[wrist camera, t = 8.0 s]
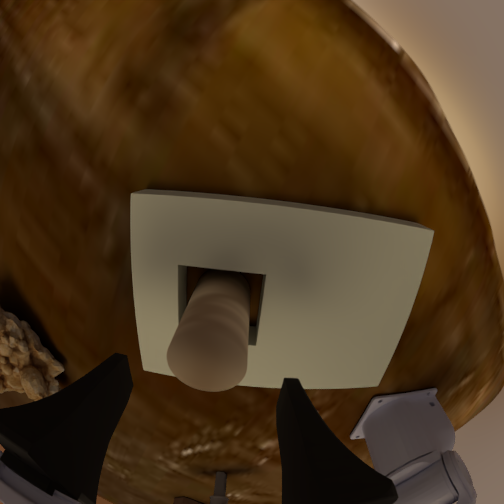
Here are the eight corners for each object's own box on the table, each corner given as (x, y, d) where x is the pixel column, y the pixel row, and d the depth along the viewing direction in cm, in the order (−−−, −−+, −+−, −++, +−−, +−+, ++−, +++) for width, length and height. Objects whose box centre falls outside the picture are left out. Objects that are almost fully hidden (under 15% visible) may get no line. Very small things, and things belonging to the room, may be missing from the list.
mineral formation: (14, 365, 25) (-26, 273, 19) (84, 379, 27) (45, 274, 21) (-7, 403, 18) (-62, 305, 12) (68, 428, 20) (5, 319, 14)
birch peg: (252, 269, 19) (249, 336, 12) (248, 317, 21) (244, 394, 13) (196, 265, 19) (162, 326, 12) (196, 313, 21) (170, 385, 13)
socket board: (416, 222, 18) (434, 230, 16) (369, 368, 22) (377, 386, 20) (145, 189, 18) (130, 193, 15) (152, 352, 22) (143, 369, 20)
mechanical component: (258, 473, 29) (257, 529, 20) (196, 478, 31) (188, 528, 21) (250, 466, 29) (248, 526, 19) (186, 471, 30) (177, 523, 20)
